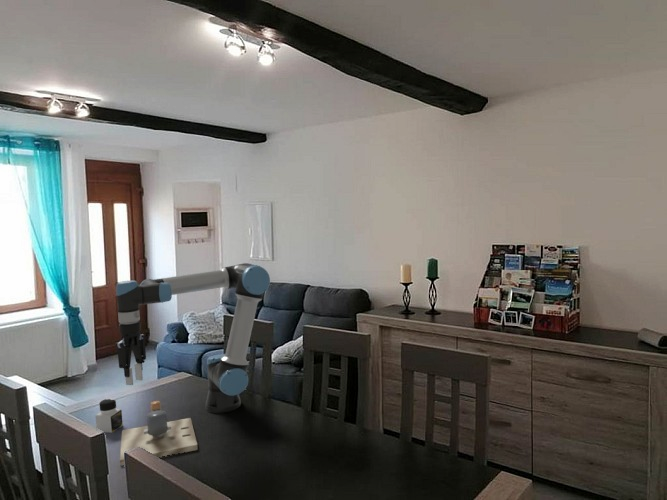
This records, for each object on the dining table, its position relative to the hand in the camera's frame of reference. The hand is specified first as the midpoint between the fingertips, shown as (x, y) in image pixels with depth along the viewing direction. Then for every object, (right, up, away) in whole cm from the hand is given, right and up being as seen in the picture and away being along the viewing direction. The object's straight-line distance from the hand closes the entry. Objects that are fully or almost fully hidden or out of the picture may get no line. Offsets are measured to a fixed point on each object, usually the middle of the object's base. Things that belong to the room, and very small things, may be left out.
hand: (134, 382), depth 191 cm
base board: (+10, -22, -1) cm, 24 cm away
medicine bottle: (-15, -23, +13) cm, 30 cm away
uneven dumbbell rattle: (+8, -18, +3) cm, 20 cm away
